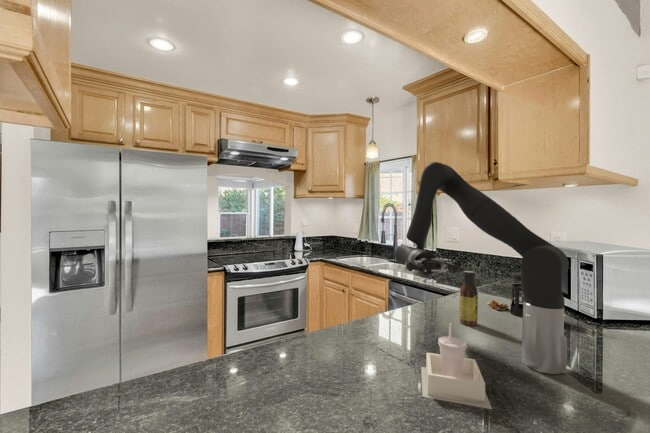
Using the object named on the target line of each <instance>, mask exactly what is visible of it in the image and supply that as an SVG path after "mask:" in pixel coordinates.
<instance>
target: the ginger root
mask: <svg viewBox="0 0 650 433" xmlns="http://www.w3.org/2000/svg"><path fill="white" fill-rule="evenodd" d="M487 305H489V306H488V307H489V308H491V309H495V310H500V311H505V310H508V311H510V309H509V305H508V304H507V303H505V304H504V303H502V302H498V301H496V300H494V299H491V301H488V302H487Z"/></svg>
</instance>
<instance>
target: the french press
mask: <svg viewBox="0 0 650 433" xmlns="http://www.w3.org/2000/svg"><path fill="white" fill-rule="evenodd" d="M518 262H520V263H521V262H522V259H519V260H518ZM511 275H512V279H513V280H515V281H520V282H521V272H512V273H511ZM510 286H511V304H510V309H509V313H510V314H511V315H514V316H516V317H519V318H523V295H522V296H520V292H522V289H521V283H511V285H510Z"/></svg>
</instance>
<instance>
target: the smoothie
mask: <svg viewBox="0 0 650 433" xmlns="http://www.w3.org/2000/svg"><path fill="white" fill-rule="evenodd" d="M452 326H453V324H452V322H448V335H446V336H445V335H444V336H440V337H438V342H437V344H438V345H439V352H440V353H439V354H440V355H441V365H442V375H444V376H451V377H457V378H461V373H462V366H463V360H464V358H465V353H466V350H467V349H468V346H467V345H468V344H467V342H466V341H465V340H464V339H462V338H459V337H455V336H452Z"/></svg>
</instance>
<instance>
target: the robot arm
mask: <svg viewBox="0 0 650 433" xmlns="http://www.w3.org/2000/svg"><path fill="white" fill-rule="evenodd" d="M419 182H420V183H419V188H418V194H417V199H416V204H415V208H414V212H413V215H412V218H411V220H410V221H411V222H410V224H409V226H408V230H407V233H406V239H407V240H409V241H410V242H412V243H413V244H415V245H416V247H413V246H409V245H406V244H401V245H399V246H397V247H396V249H395V250H394V258H395V260H396V262H397V263H399V264H402V265H405V267H404V268H405V269H406V270H407V271H408V272H413V271H414V272H416V273H418V274H419V275H422V276H429V275H432V274H434V273H436V272H438V273H445V272H449V273H450V274H451V273H452V274H456V273H457V272H458V271H459V269H458V268H459V266H458V264H459V262H457V261H454V260H450V259H447V260H445V259H438V258H437V256H436V255H435V254H434V253H433V252H430V251H429V250H428V251H427V250H425V246H426V239H427V237H428V234H429V232H430V228H431V225H432V221H433V220H432V218H433V204H434V199H435V197H436V194H437V192H438V191H441V192H442V193H444V194H446V195H447V196H448V197H450V198H451V199H452V200H453V201H455V202H456V203H457V205H458V207H459V208H460V210H461V211H462V213H463V214H464V216H465V217H466V218H467V219H468V220H469V221H470V222H471V223H473V224H474V225H475V226H476V227H477V228H478V229H480V230H481V232H482V231H483V232H484V233H485V234H487V235H488V236H490V237H492V238H494V239H496V240H497V241H500V243H501V242H502V243H503V244H505V245H507V246H509V247H510V248H512V250H514V251H515V252H516V253H518V254H519V256H520V257H522V258H521V260H522V262H521V261H520V263H521V264H520V273H521V281H520V284H521V287H520V288H521V289H522V291H521V292H522V296H523V303H522V304H523V317H522V333H521V334H522V337H521V338H522V341H521V343H522V344H521V347H522V348H521V361H522V363H523V364H525V365H526V366H527V368H529V369H530V370H532V371H533V370H534V371H537V372H539V373H543V374H547V375H559V374H565V375H566V374H567V354H568V353H567V351H568V338H567V336H565V334H564V332H565V331H564V330H565V329H564V328H565V302H566V301H565V300H566V299H565V297H564V295H563V292H562V289H563V288H562V287H563V286H562V284H563V283H562V279H563V278H562V276H563V275H565V274H566V273H567V271H568V269H569V267H570V266H569V265H570V264H569V263H570V262H569V260H568V257H567V255H566V254H565V253H564V251H562V249H560V248H558V247H557V246H555V245H554V244H552V243H550V242H549V241H547V240H545V239H544V238H542V237H541V236H539V235H538V234H536V233H534V232H533V231H531V230H530V229H529V228H528V227H527V226H525V225H524V224H523V222H521V221H520V220H518V218H516V217H515V216H513V214H511V213H510V211H508V210H506V209H505V208H504V207H502V206H501V205H500V204H499V203H497V202H496V201H495V200H493V199H492V198H491V197H489V196H488V195H487V194H485V193H483V192H482V191H480V190H479V189H477V188H476V187H474V186H473V185H471V184H469V182H467V181H466V180H465V179H464V178H463V177H462V176H461V175H460V174H459V173H458V172H457V171H456V170H455V169H454V168H453V167H451V166H449V165H448V164H445V163H442V162H439V161H438V162H437V161H432V162H430V163H428V164H426V166H425V167H424V169H423V170H422V174H421V177H420V181H419Z"/></svg>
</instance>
